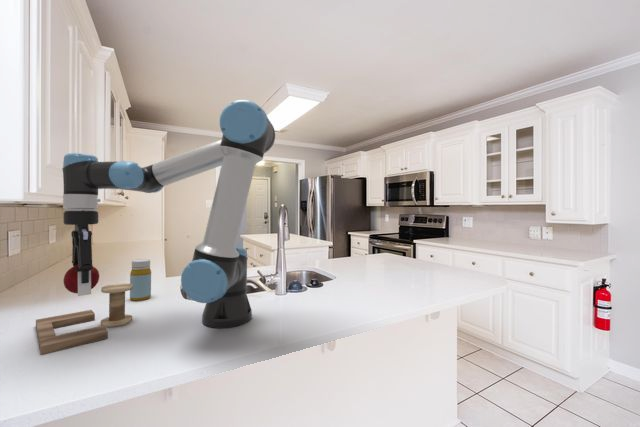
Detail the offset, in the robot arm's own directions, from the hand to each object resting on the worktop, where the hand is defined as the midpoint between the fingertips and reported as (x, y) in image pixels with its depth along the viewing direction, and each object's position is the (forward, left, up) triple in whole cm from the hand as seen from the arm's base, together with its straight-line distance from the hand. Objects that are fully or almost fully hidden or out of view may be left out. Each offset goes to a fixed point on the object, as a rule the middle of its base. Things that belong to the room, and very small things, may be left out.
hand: (81, 291), depth 81 cm
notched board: (+3, +2, -12) cm, 12 cm away
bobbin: (+3, -9, -12) cm, 15 cm away
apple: (0, 0, 0) cm, 0 cm away
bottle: (+25, -21, -12) cm, 35 cm away
